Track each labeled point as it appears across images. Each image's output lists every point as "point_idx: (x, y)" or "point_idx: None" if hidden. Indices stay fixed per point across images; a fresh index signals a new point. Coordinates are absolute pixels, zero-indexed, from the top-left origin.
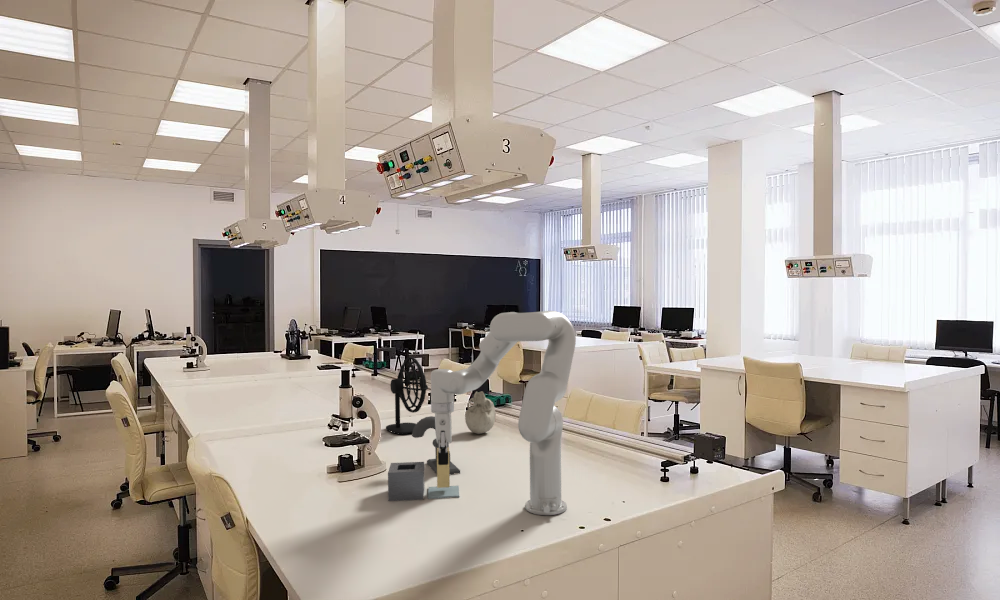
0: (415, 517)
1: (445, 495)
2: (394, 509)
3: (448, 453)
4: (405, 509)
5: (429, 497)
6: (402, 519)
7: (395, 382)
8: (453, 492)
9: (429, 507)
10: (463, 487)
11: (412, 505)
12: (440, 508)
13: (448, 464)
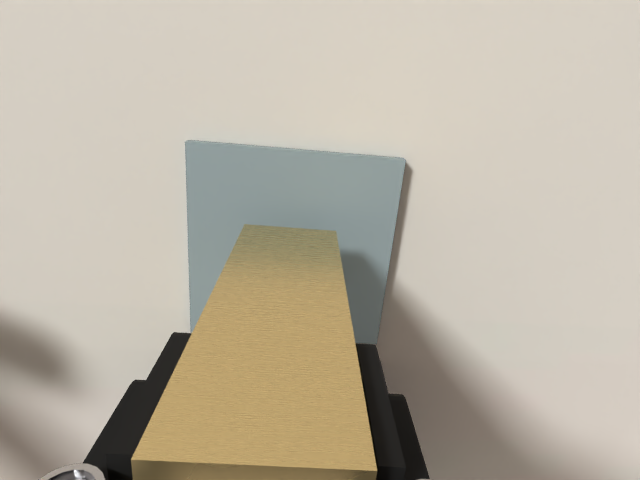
0: (622, 398)
1: (378, 248)
2: (478, 474)
3: (367, 435)
4: (497, 435)
5: (377, 334)
6: (619, 445)
7: None
8: (332, 192)
9: (513, 335)
10: (192, 103)
11: (452, 407)
12: (552, 283)
13: (351, 331)
